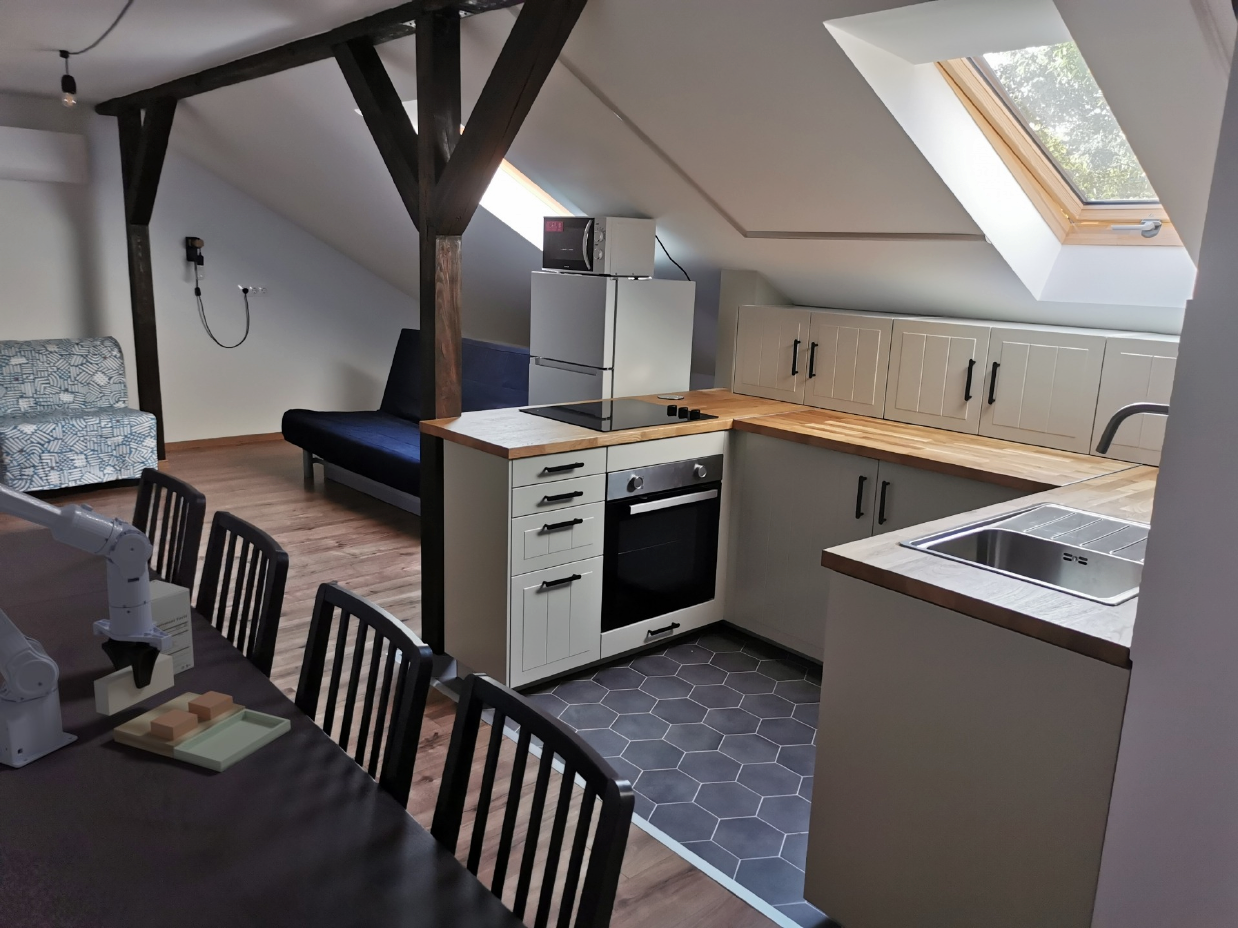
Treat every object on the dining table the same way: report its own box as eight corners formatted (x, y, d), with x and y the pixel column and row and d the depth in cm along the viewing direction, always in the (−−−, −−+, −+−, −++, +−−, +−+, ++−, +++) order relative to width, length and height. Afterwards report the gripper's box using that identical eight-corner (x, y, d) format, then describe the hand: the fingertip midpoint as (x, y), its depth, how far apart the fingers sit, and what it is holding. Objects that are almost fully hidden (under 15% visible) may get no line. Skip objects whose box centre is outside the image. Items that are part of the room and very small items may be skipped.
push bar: (109, 715, 142) (107, 684, 141) (96, 711, 143) (93, 681, 142) (174, 685, 153) (172, 656, 152) (161, 681, 154) (159, 653, 153)
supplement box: (116, 674, 164) (109, 592, 161) (162, 656, 172) (156, 578, 169) (150, 685, 160) (144, 602, 157) (196, 667, 168) (190, 587, 165)
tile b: (210, 719, 145) (210, 707, 144) (188, 714, 146) (188, 702, 146) (233, 707, 149) (232, 696, 148) (211, 702, 150) (210, 690, 150)
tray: (221, 771, 134) (220, 761, 133) (174, 758, 137) (173, 748, 137) (290, 729, 146) (290, 719, 146) (245, 717, 150) (245, 708, 149)
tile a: (173, 739, 138) (172, 727, 138) (151, 733, 140) (150, 721, 139) (198, 726, 142) (197, 714, 142) (175, 720, 144) (174, 708, 144)
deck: (174, 758, 137) (173, 745, 137) (114, 740, 141) (113, 728, 141) (245, 717, 150) (245, 706, 149) (189, 703, 154) (188, 691, 154)
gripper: (185, 601, 146) (190, 683, 149) (118, 587, 151) (124, 666, 154) (147, 615, 140) (153, 700, 142) (78, 600, 145) (85, 682, 148)
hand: (135, 684), depth 148 cm, fingers closed on push bar, 3 cm apart
